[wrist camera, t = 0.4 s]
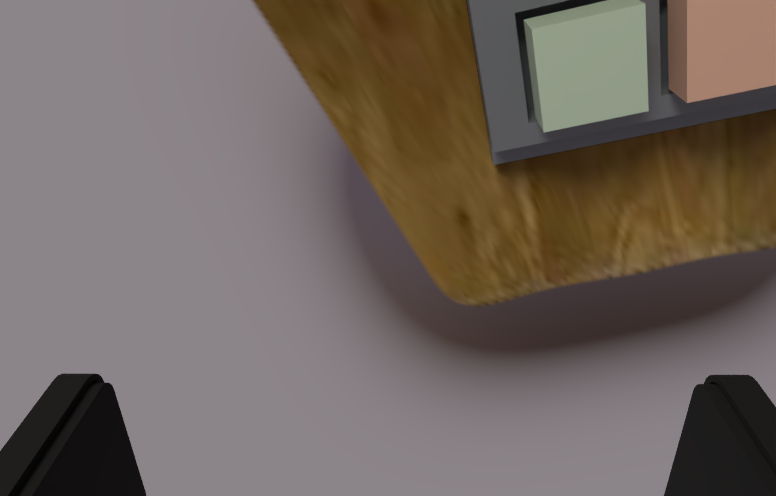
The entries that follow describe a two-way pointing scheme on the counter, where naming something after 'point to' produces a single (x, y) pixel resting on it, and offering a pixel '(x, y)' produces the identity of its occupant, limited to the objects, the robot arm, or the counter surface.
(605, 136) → the keypad housing
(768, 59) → the key
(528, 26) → the key
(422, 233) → the counter surface
